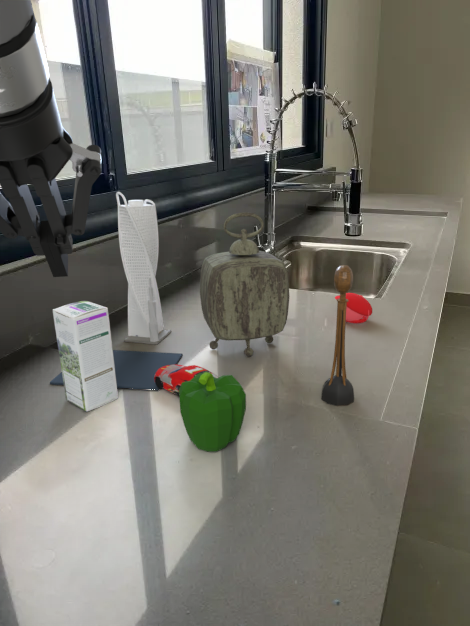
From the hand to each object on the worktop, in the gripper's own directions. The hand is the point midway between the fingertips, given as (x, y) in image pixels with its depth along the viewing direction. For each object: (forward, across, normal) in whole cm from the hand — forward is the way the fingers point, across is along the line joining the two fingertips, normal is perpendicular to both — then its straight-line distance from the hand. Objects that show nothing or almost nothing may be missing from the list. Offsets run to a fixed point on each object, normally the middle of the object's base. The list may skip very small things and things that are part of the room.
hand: (60, 266), depth 55 cm
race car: (+24, +14, -8) cm, 29 cm away
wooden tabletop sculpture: (+20, +36, -13) cm, 43 cm away
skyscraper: (+43, +8, +10) cm, 45 cm away
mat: (+32, +4, 0) cm, 32 cm away
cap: (+43, +52, +10) cm, 67 cm away
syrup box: (+25, 0, -8) cm, 26 cm away
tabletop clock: (+34, +26, +1) cm, 43 cm away
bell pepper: (+15, +16, -18) cm, 28 cm away
